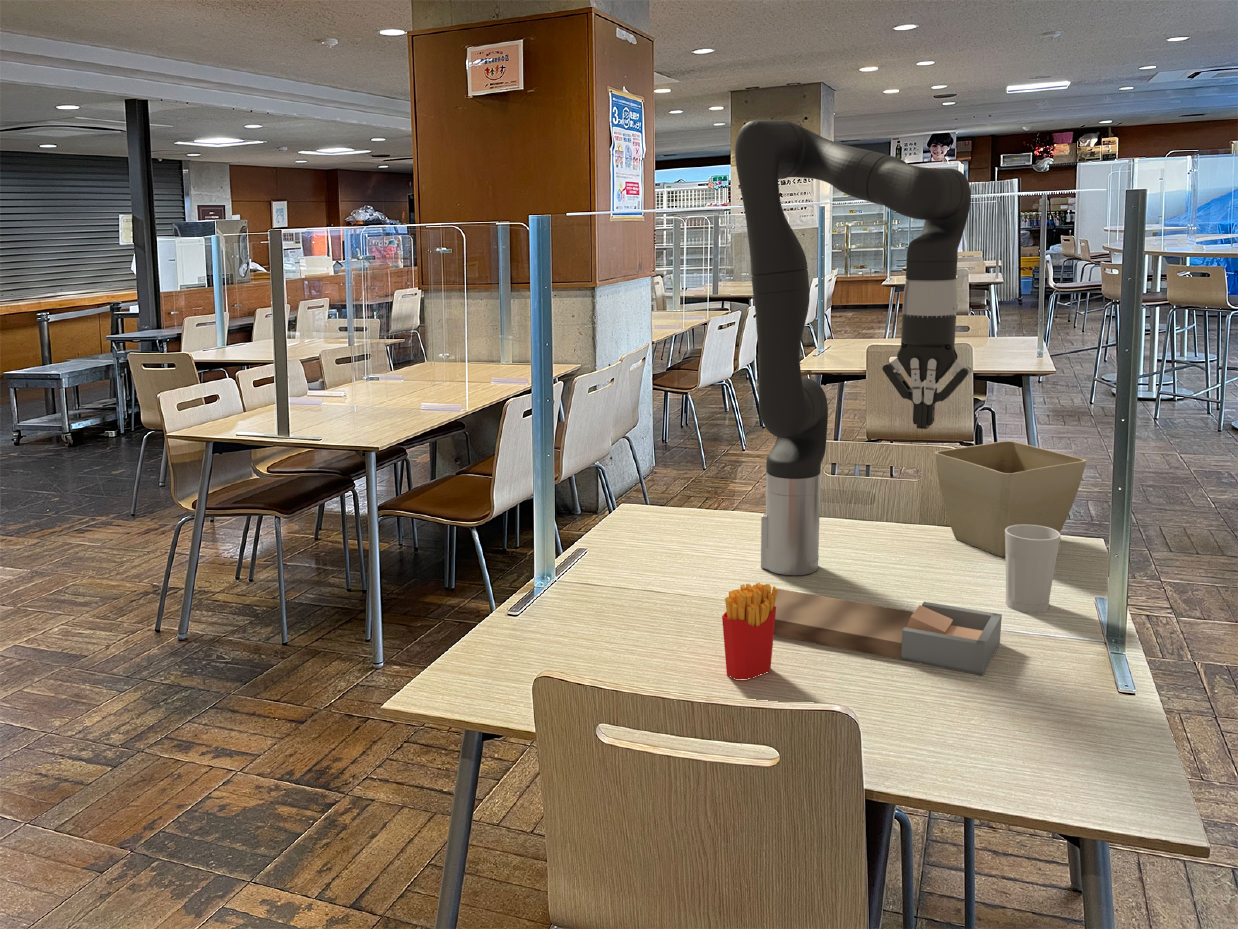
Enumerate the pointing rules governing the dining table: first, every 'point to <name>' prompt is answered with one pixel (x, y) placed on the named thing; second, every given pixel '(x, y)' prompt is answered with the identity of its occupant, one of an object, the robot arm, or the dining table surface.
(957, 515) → the flower pot
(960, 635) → the tile
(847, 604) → the board
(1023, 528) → the cup
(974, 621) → the tray
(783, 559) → the robot arm
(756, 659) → the french fries
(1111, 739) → the dining table surface
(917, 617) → the tile
